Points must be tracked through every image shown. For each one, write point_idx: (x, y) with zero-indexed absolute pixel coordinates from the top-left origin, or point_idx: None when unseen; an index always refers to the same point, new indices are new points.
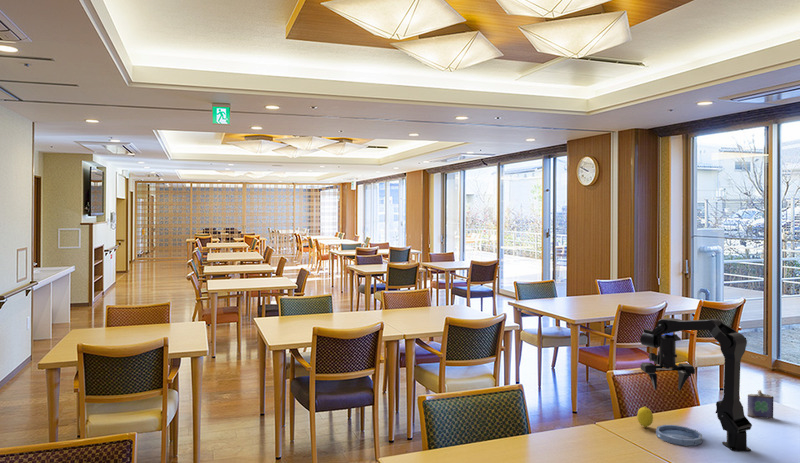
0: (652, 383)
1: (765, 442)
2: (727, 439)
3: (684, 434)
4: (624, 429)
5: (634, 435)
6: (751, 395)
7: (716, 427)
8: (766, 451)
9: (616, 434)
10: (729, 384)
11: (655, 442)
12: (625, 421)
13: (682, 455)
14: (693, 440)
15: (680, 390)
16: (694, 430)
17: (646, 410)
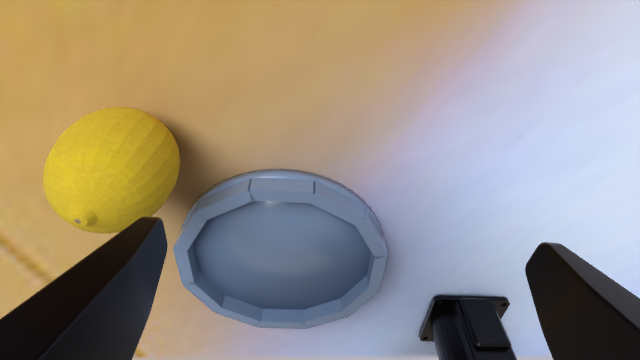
0: (54, 296)
1: (631, 284)
2: (439, 339)
3: (319, 248)
4: (13, 159)
5: (70, 227)
6: None
7: (610, 132)
8: (538, 334)
9: None
10: None
11: None
12: (13, 13)
13: (222, 353)
14: (301, 328)
15: (538, 269)
16: (378, 254)
17: (97, 232)
